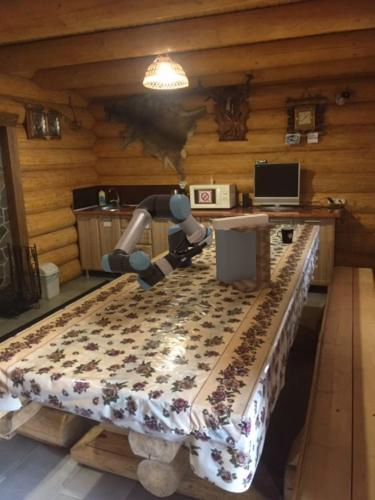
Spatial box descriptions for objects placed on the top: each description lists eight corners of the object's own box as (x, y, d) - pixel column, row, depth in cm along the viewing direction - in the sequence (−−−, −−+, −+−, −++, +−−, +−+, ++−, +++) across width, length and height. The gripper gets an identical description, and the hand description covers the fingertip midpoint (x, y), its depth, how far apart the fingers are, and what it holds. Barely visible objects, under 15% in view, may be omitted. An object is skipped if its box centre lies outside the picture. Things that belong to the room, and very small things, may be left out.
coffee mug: (292, 241, 291) (292, 226, 288) (294, 243, 282) (294, 229, 280) (275, 241, 292) (275, 227, 290) (277, 244, 284) (277, 229, 281)
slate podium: (226, 283, 207) (224, 230, 201) (216, 277, 218) (214, 226, 212) (256, 278, 212) (256, 226, 206) (245, 272, 224) (244, 222, 217)
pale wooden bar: (217, 229, 187) (216, 220, 186) (212, 228, 191) (212, 219, 190) (268, 223, 195) (268, 214, 194) (262, 221, 200) (262, 213, 199)
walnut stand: (242, 292, 194) (240, 228, 187) (230, 285, 205) (229, 224, 198) (276, 286, 199) (276, 224, 192) (263, 279, 210) (262, 220, 203)
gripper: (164, 264, 197) (199, 237, 200) (182, 277, 174) (221, 247, 178) (155, 251, 194) (191, 224, 198) (172, 264, 171) (212, 233, 175)
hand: (205, 235), depth 188 cm, fingers open, 13 cm apart
